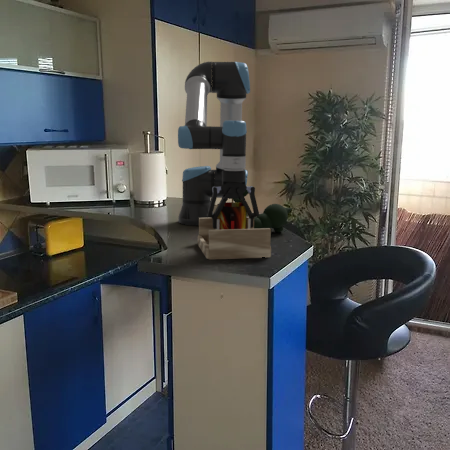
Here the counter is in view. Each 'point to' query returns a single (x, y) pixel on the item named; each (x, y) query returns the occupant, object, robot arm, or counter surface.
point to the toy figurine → (270, 216)
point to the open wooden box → (233, 241)
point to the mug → (232, 216)
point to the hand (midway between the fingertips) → (232, 237)
